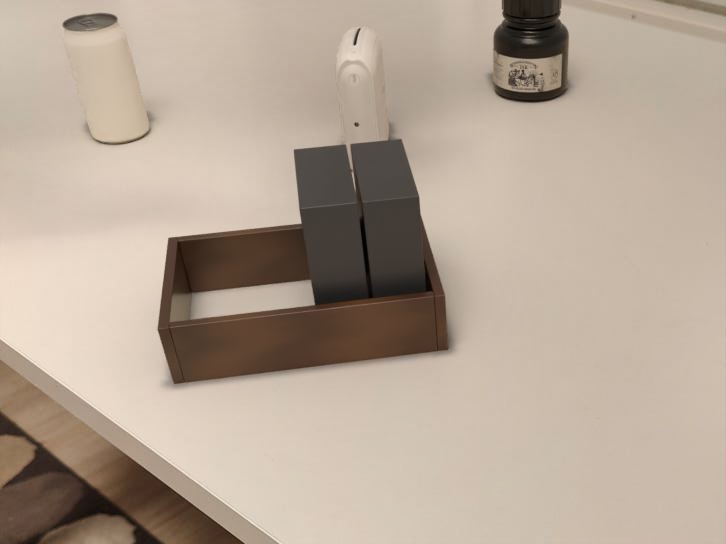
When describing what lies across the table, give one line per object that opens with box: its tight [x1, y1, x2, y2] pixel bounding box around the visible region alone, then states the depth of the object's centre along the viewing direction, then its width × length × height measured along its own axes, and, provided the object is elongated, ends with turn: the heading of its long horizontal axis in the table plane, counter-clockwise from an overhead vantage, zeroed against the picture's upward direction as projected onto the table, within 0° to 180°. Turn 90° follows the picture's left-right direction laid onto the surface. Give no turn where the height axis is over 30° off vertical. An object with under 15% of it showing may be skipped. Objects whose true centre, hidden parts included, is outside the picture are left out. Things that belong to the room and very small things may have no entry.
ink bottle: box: [492, 0, 570, 101], centre depth 110 cm, size 10×9×12 cm
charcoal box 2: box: [350, 138, 426, 299], centre depth 73 cm, size 4×10×12 cm, turn 11°
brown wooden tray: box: [156, 216, 449, 385], centre depth 75 cm, size 21×14×6 cm, turn 101°
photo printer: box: [334, 26, 390, 172], centre depth 98 cm, size 10×4×12 cm, turn 0°
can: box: [61, 12, 151, 145], centre depth 103 cm, size 6×6×12 cm
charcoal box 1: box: [293, 143, 370, 305], centre depth 72 cm, size 4×10×12 cm, turn 11°
